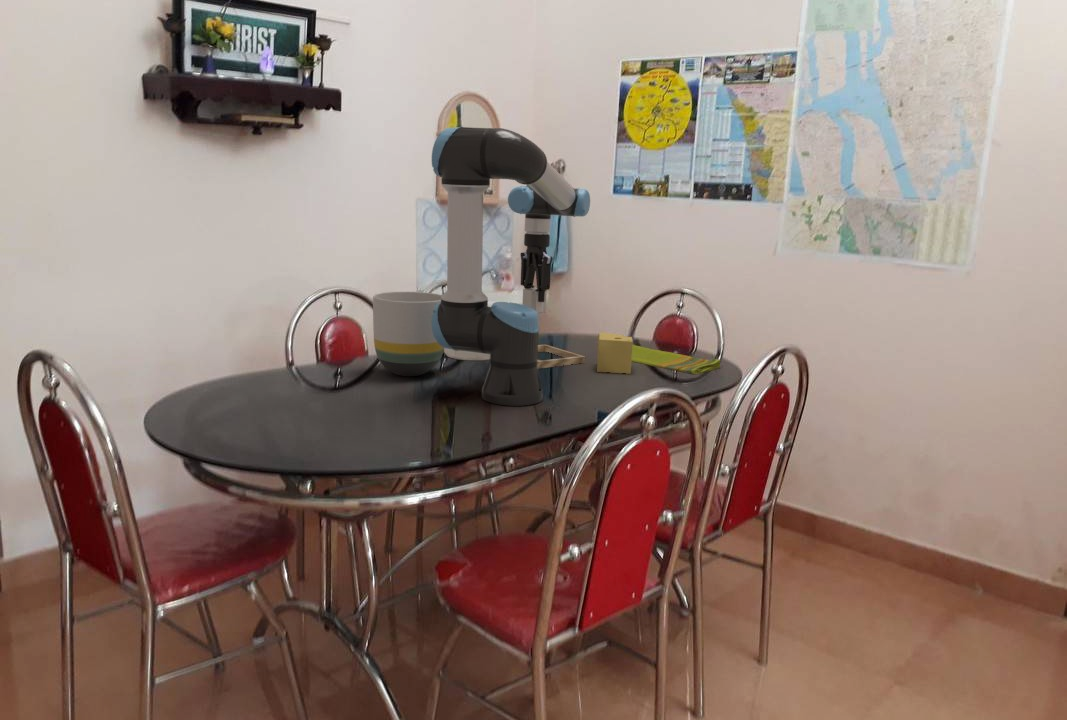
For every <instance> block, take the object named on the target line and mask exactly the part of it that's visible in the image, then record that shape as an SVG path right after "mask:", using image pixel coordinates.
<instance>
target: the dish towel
mask: <svg viewBox="0 0 1067 720" xmlns="http://www.w3.org/2000/svg"><path fill="white" fill-rule="evenodd" d="M632 361H633V363H637V362H638V363H637V364H642V365H647V366H651V367H657V368H662V369H666V370H671V371H676V372H680V373H685V374H690V375H699V374H703V373H706V372H707V373H708V372H710V371H714V370H718V369H720V368H721V364H720V363H721V359H719V358H712V359H705V358H699V357H696V356H689V355H685V354H679V353H676V352H671V351H663V350H658V349H652V348H648V347H644V346H641V345H640V346H639V345H636V344H633V348H632Z"/></svg>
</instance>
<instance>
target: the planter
mask: <svg viewBox="0 0 1067 720" xmlns="http://www.w3.org/2000/svg"><path fill="white" fill-rule="evenodd" d="M442 295H443V294H439V293H433V292H425V291H388V292H380V293H375V294H374V295H373V297H372V317H373V318H372V327H373V344H374V350H375V351H374V352H375V354H376V357H377V360H378V361H379V362H380V364H381V365H382V366H383V367H384V369H386V370H387V371H389V372H391V373H392V374H395V375H398V376H402V377H415V376H416V377H418V376H422V375H425V374H426V373H429V372H430V371H431V370H433V368H435V367H436V366H437V365H438V364H439V362H440V361H441V358H442V356H443V353H444V347H442V346H440V345H439V344H438V342H437V341H436V340H435V338H434V335H433V332H432V325H431V319H432V314H434V313H433V310H434V307H435V306H436V305H437V304H438V303H440V302H441V296H442Z"/></svg>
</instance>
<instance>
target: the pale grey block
mask: <svg viewBox="0 0 1067 720" xmlns="http://www.w3.org/2000/svg"><path fill="white" fill-rule="evenodd" d="M536 289H537V287H534V288H527V289H525V288H522V305H525V306H528V307H531V308H533V309H534V310H535V290H536ZM547 292H548V290H546V291H545V297H544V306H543V313H542V314H546V312H547V294H548V293H547ZM539 314H540V313H538V315H539Z"/></svg>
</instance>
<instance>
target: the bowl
mask: <svg viewBox="0 0 1067 720" xmlns="http://www.w3.org/2000/svg"><path fill="white" fill-rule="evenodd" d="M443 353H444V354H445V355H446V357H448V358H450V359H454V360H459V361H477V362H478V361H490V354H484V353H476V352H468V351H455V350H453V349H448V348H444V350H443Z"/></svg>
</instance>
